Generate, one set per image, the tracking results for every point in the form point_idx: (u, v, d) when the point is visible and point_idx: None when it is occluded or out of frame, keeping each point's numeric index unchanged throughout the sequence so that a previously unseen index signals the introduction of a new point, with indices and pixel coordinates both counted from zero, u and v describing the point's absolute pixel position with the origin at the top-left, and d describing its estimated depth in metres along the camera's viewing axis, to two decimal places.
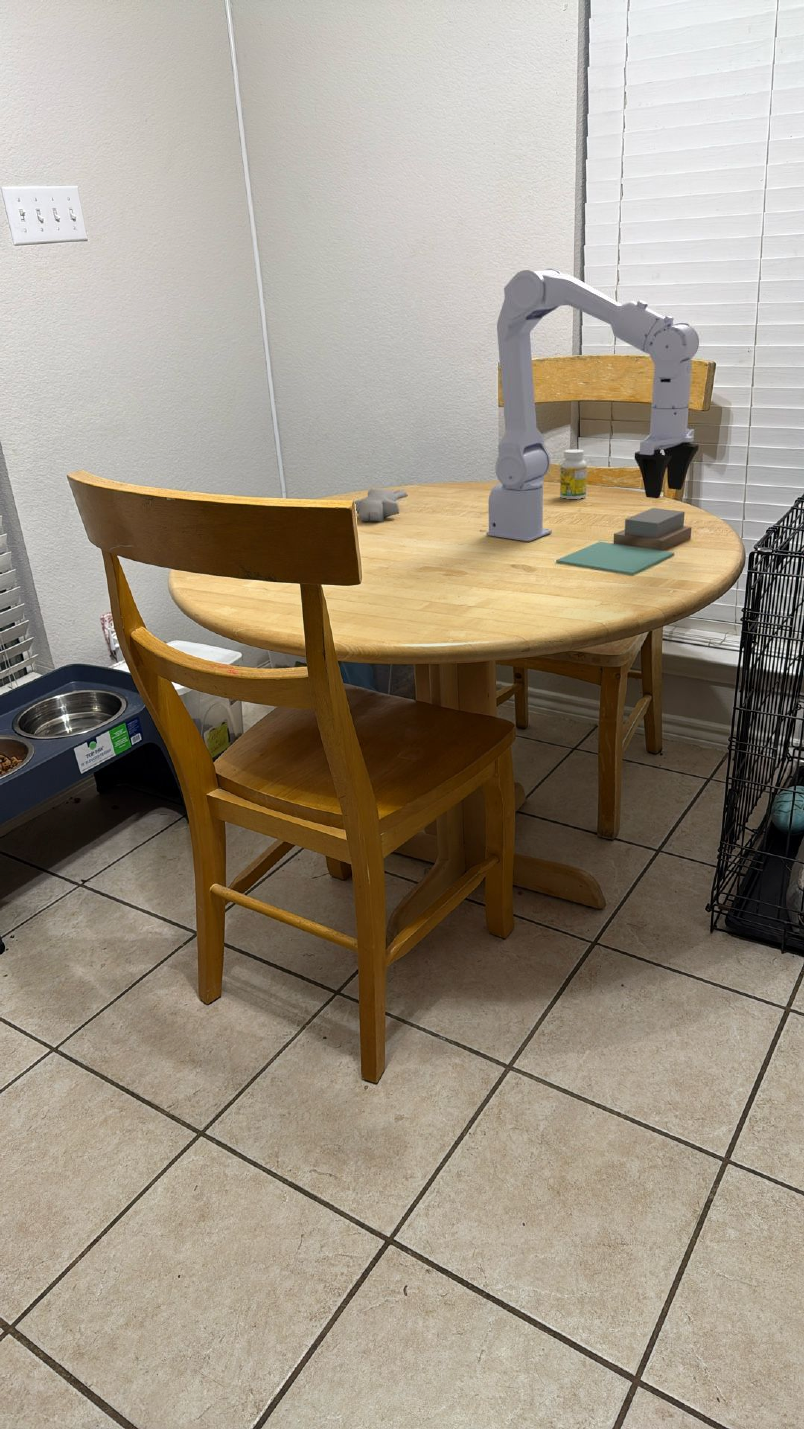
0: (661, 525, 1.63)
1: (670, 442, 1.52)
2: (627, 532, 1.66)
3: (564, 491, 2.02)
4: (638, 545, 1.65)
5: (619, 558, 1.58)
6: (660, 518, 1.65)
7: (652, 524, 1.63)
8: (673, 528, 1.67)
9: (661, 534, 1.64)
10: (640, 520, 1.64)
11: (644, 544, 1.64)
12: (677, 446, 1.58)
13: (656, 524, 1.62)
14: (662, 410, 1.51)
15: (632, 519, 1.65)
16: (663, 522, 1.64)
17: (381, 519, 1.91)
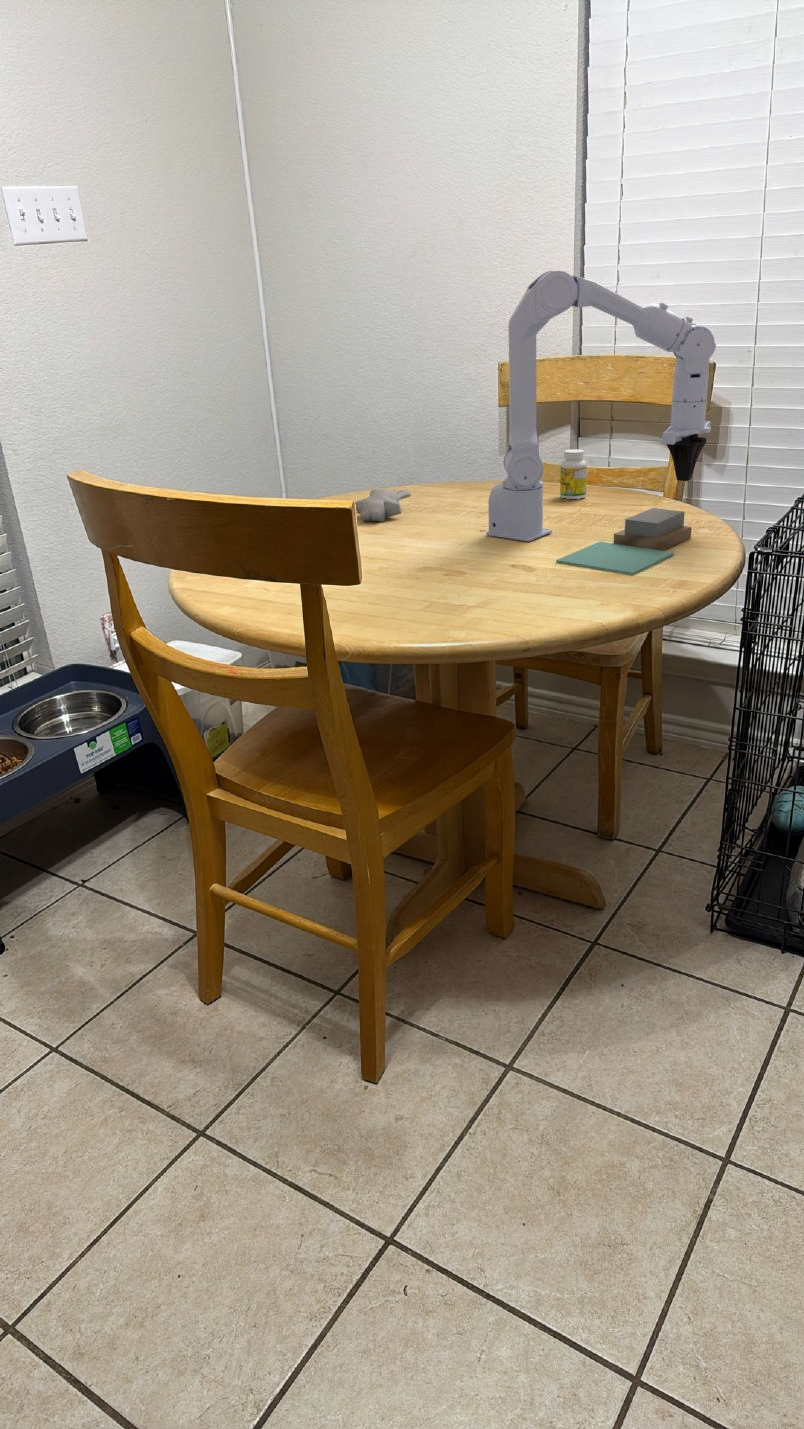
0: (661, 525, 1.63)
1: (690, 433, 1.65)
2: (627, 532, 1.66)
3: (564, 491, 2.02)
4: (638, 545, 1.65)
5: (619, 558, 1.58)
6: (660, 518, 1.65)
7: (652, 524, 1.63)
8: (673, 528, 1.67)
9: (661, 534, 1.64)
10: (640, 520, 1.64)
11: (644, 544, 1.64)
12: None
13: (656, 524, 1.62)
14: (682, 403, 1.65)
15: (632, 519, 1.65)
16: (663, 522, 1.64)
17: (382, 519, 1.91)
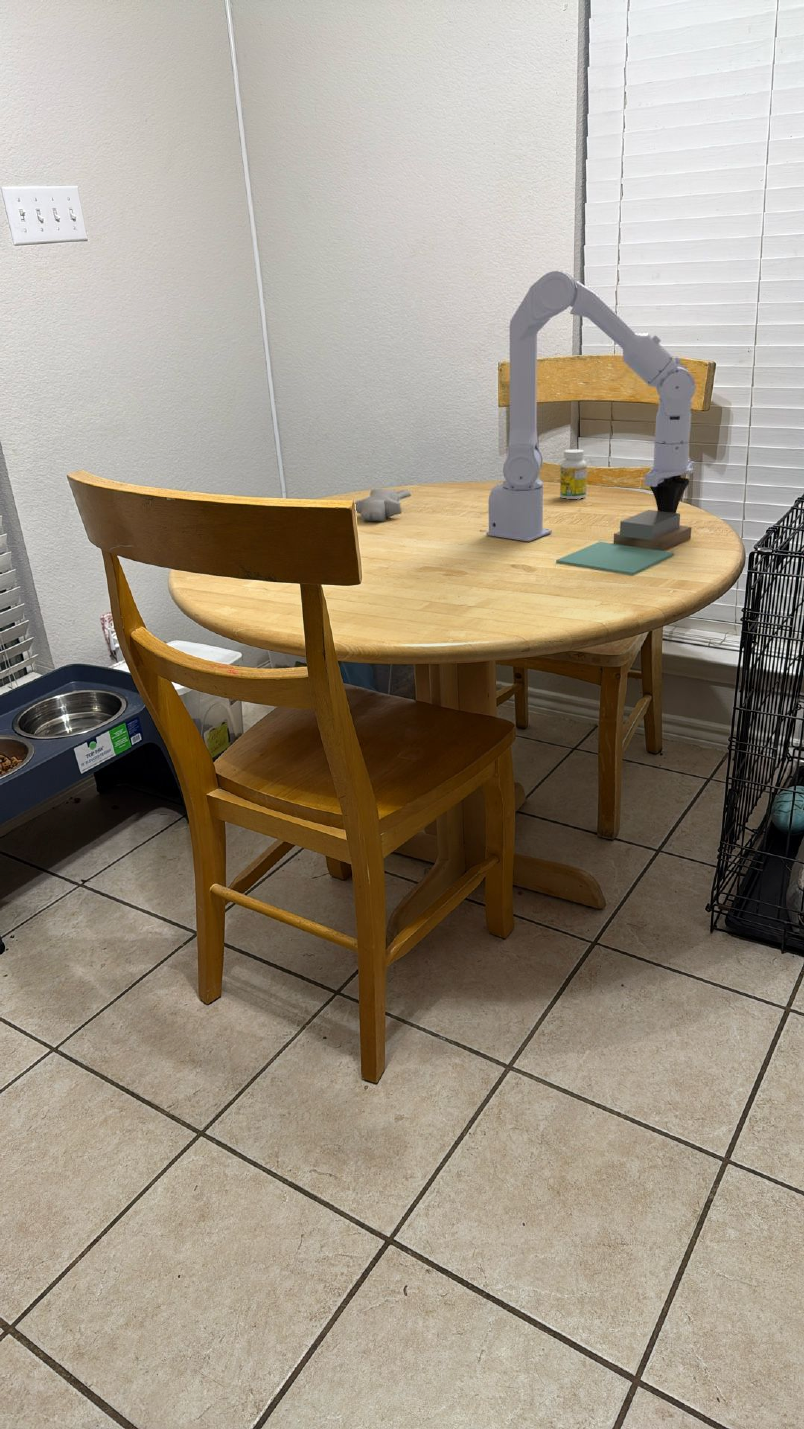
0: (656, 527, 1.62)
1: (672, 474, 1.64)
2: (622, 534, 1.65)
3: (564, 491, 2.02)
4: (638, 545, 1.65)
5: (619, 558, 1.58)
6: (655, 520, 1.64)
7: (647, 526, 1.61)
8: (669, 530, 1.66)
9: (656, 536, 1.63)
10: (635, 522, 1.63)
11: (644, 544, 1.64)
12: None
13: (651, 526, 1.61)
14: (665, 445, 1.63)
15: (627, 521, 1.64)
16: (658, 524, 1.62)
17: (383, 519, 1.91)
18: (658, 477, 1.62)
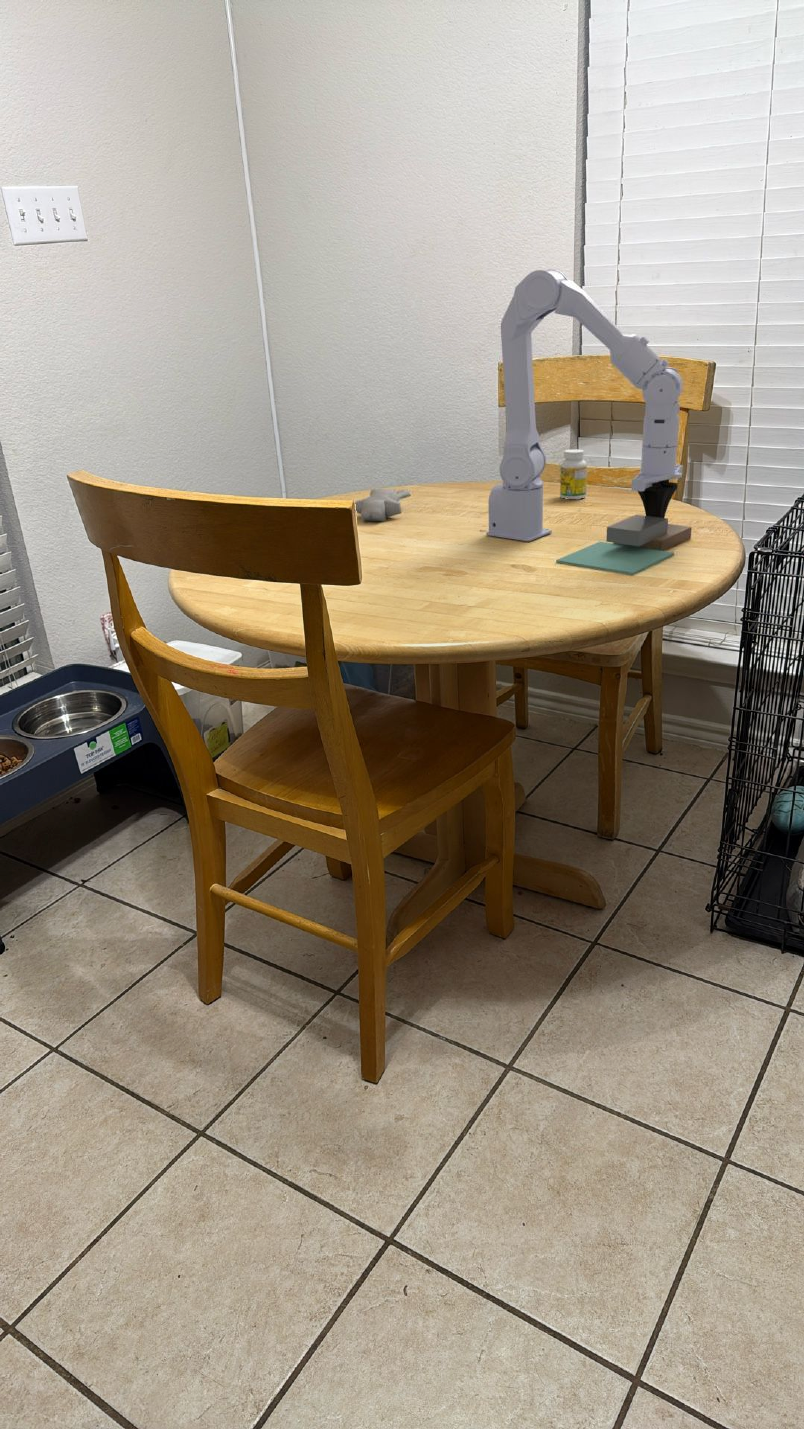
0: (643, 533, 1.59)
1: (660, 479, 1.61)
2: (609, 540, 1.62)
3: (564, 491, 2.02)
4: None
5: (619, 558, 1.58)
6: (642, 526, 1.61)
7: (634, 532, 1.59)
8: (656, 536, 1.63)
9: (643, 542, 1.60)
10: (622, 528, 1.60)
11: (644, 544, 1.64)
12: None
13: (638, 532, 1.58)
14: (652, 449, 1.60)
15: (614, 527, 1.61)
16: (645, 530, 1.59)
17: (383, 519, 1.91)
18: (645, 482, 1.59)
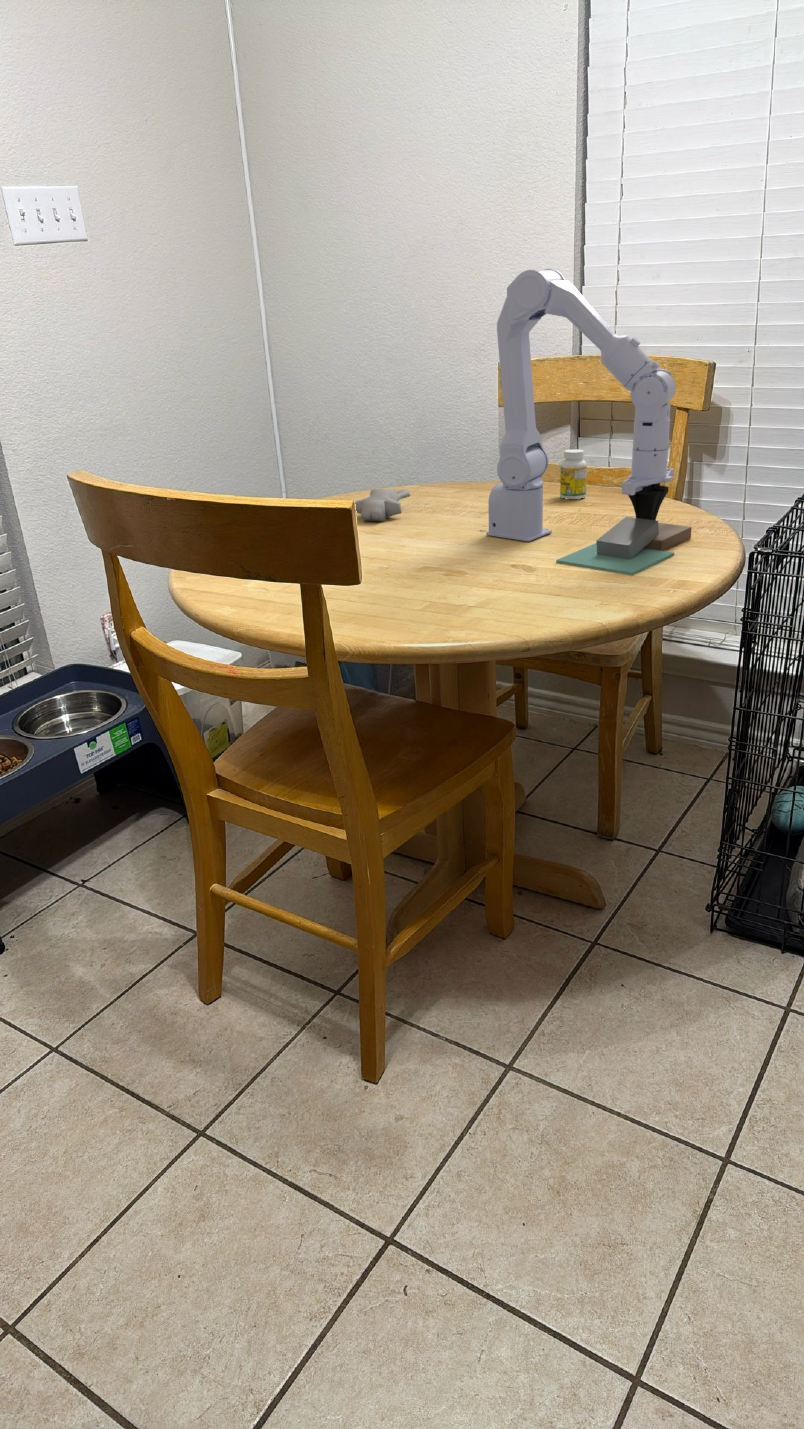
0: (633, 545, 1.58)
1: (651, 482, 1.59)
2: (600, 553, 1.61)
3: (564, 491, 2.02)
4: None
5: (619, 558, 1.58)
6: (632, 535, 1.59)
7: (623, 546, 1.57)
8: (647, 542, 1.61)
9: (634, 553, 1.59)
10: (611, 541, 1.59)
11: None
12: None
13: (628, 546, 1.57)
14: (643, 452, 1.58)
15: (603, 540, 1.60)
16: (635, 541, 1.58)
17: (383, 519, 1.91)
18: (636, 485, 1.57)
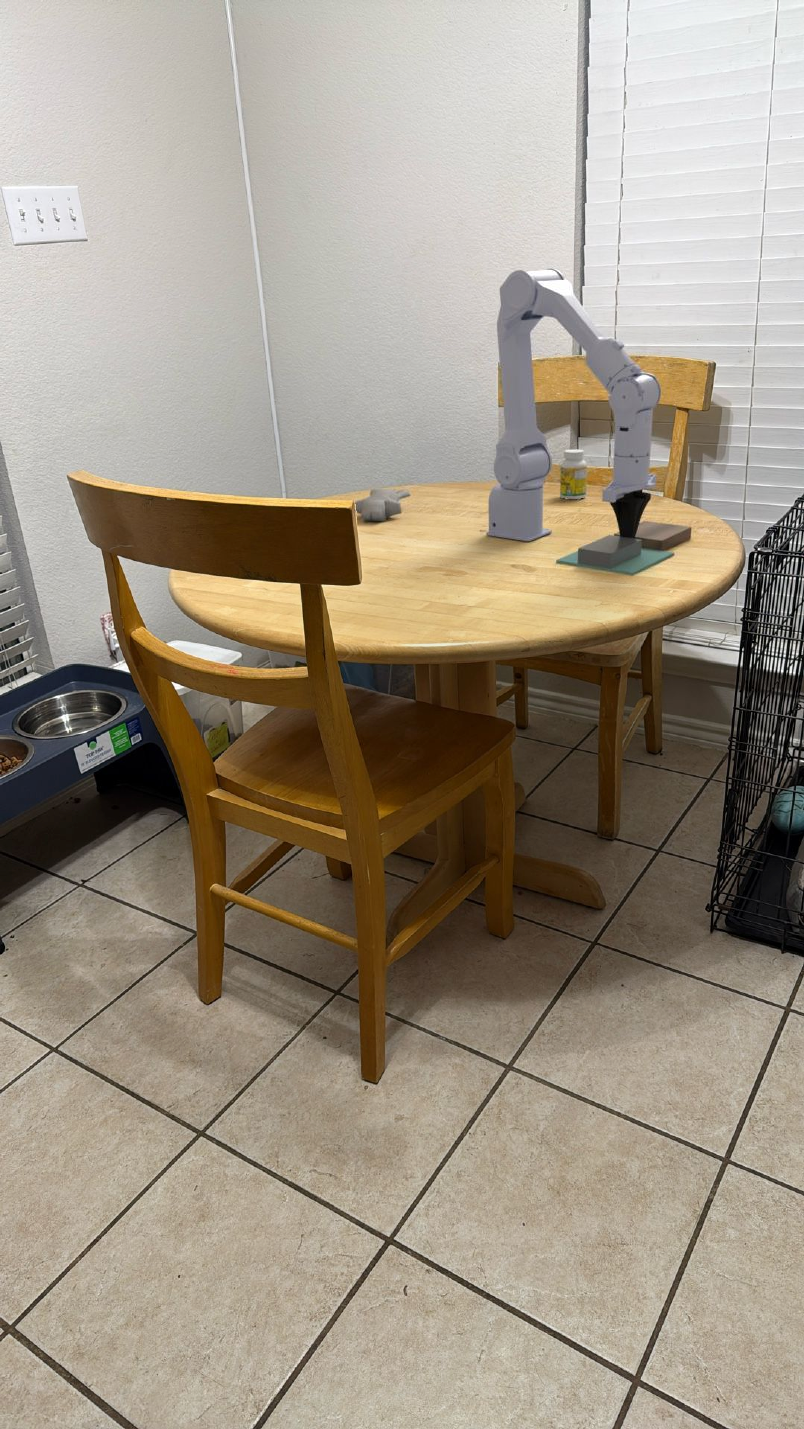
0: (615, 555, 1.54)
1: (632, 489, 1.54)
2: (580, 562, 1.56)
3: (564, 491, 2.02)
4: None
5: None
6: (615, 547, 1.55)
7: (605, 554, 1.53)
8: (629, 557, 1.57)
9: (616, 564, 1.54)
10: (593, 549, 1.55)
11: (644, 544, 1.64)
12: None
13: (610, 554, 1.52)
14: (624, 458, 1.54)
15: (585, 548, 1.56)
16: (618, 552, 1.54)
17: (383, 519, 1.91)
18: (616, 492, 1.53)
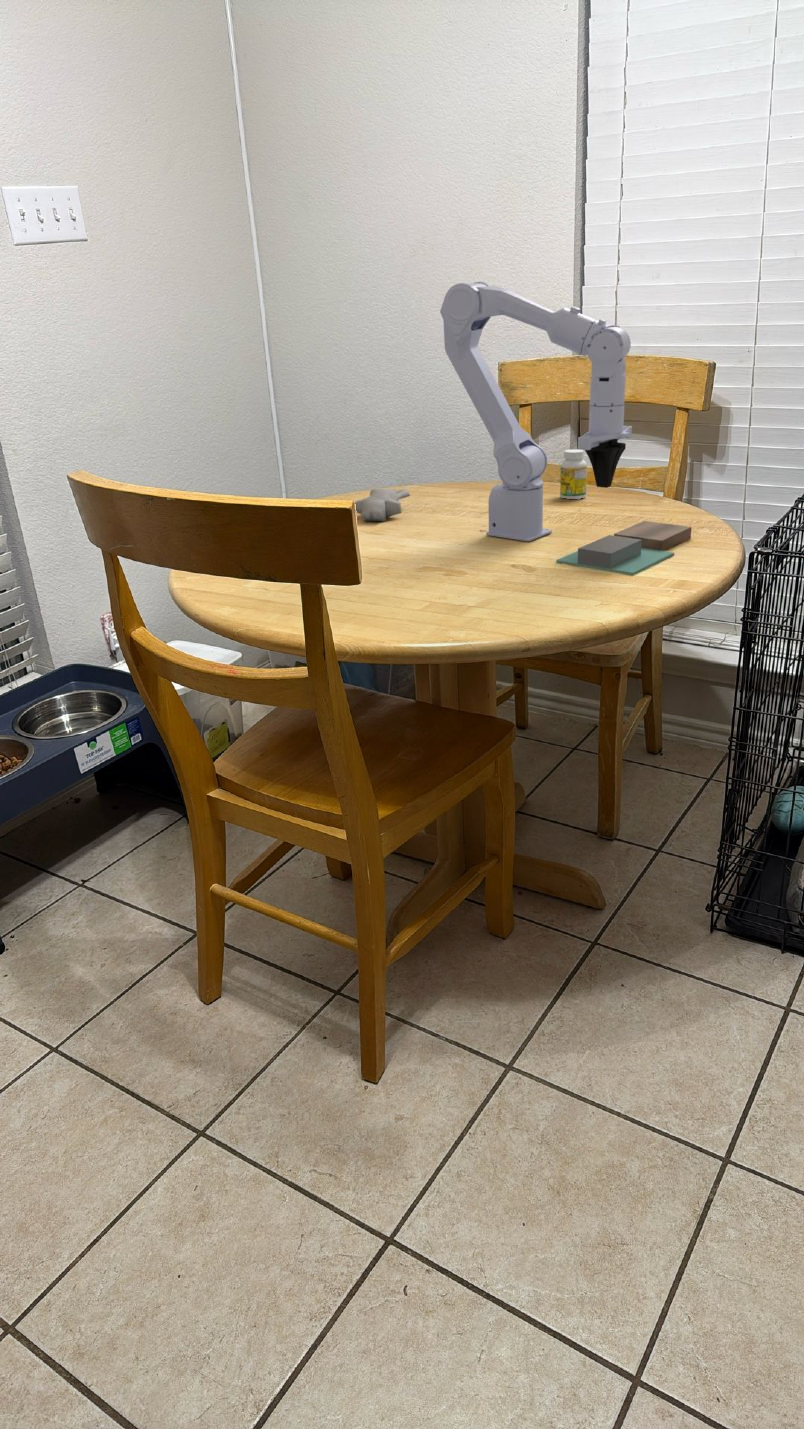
0: (615, 555, 1.54)
1: (607, 438, 1.60)
2: (580, 562, 1.56)
3: (564, 491, 2.02)
4: None
5: None
6: (615, 547, 1.55)
7: (605, 554, 1.53)
8: (629, 557, 1.57)
9: (615, 564, 1.54)
10: (593, 549, 1.55)
11: (644, 544, 1.64)
12: None
13: (610, 554, 1.52)
14: (599, 408, 1.60)
15: (585, 548, 1.56)
16: (617, 552, 1.54)
17: (383, 519, 1.91)
18: (591, 440, 1.59)
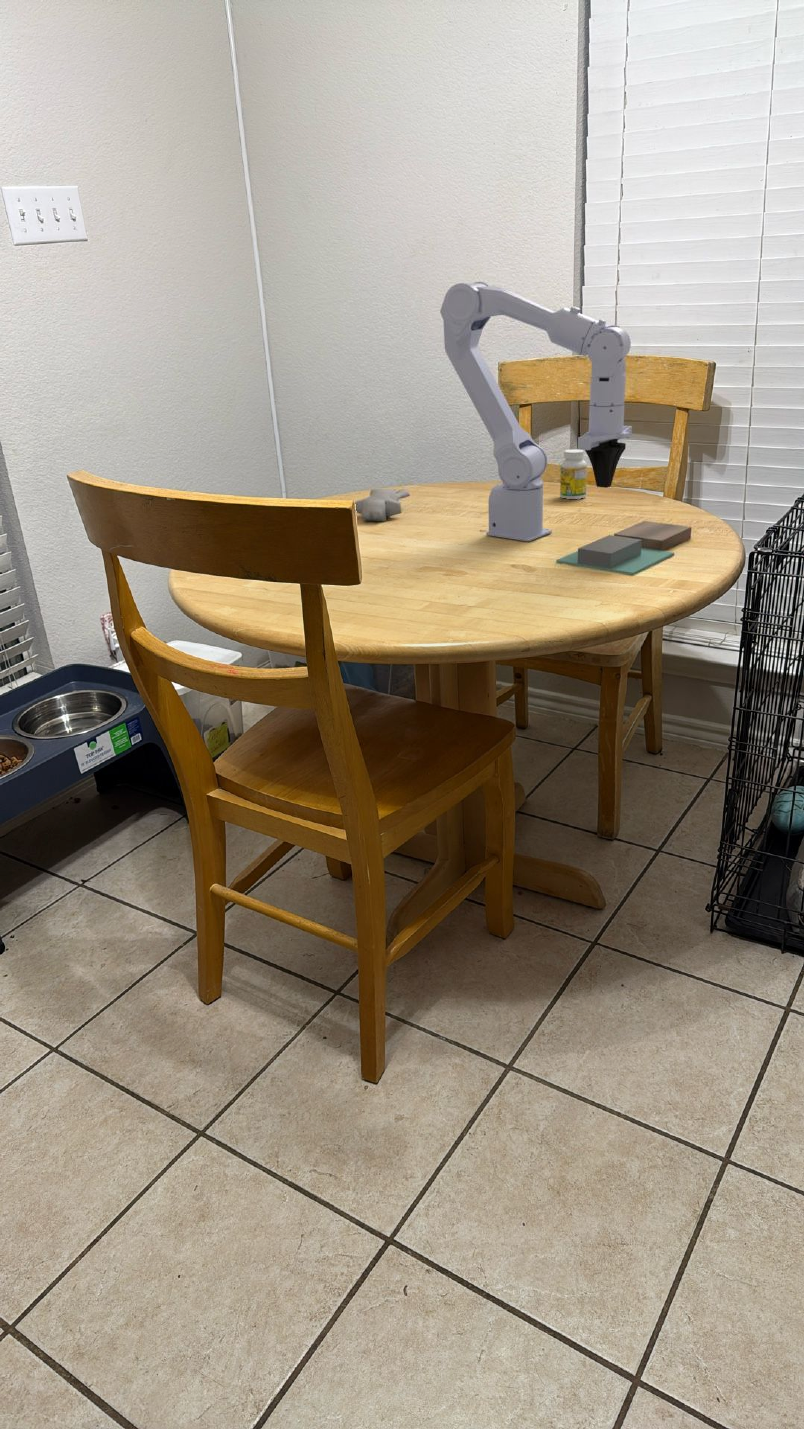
0: (615, 555, 1.54)
1: (607, 438, 1.60)
2: (580, 562, 1.56)
3: (564, 491, 2.02)
4: None
5: None
6: (615, 547, 1.55)
7: (605, 554, 1.53)
8: (629, 557, 1.57)
9: (615, 564, 1.54)
10: (593, 549, 1.55)
11: (644, 544, 1.64)
12: None
13: (610, 554, 1.52)
14: (599, 408, 1.60)
15: (585, 548, 1.56)
16: (617, 552, 1.54)
17: (383, 519, 1.91)
18: (591, 440, 1.59)
